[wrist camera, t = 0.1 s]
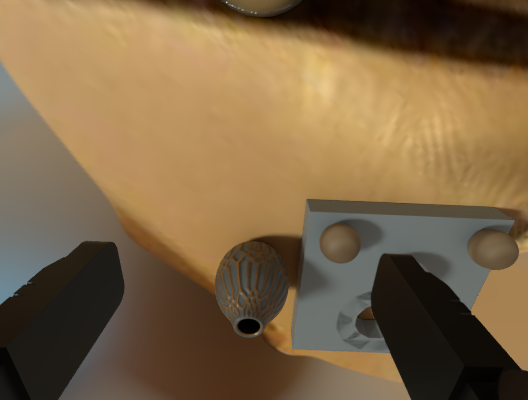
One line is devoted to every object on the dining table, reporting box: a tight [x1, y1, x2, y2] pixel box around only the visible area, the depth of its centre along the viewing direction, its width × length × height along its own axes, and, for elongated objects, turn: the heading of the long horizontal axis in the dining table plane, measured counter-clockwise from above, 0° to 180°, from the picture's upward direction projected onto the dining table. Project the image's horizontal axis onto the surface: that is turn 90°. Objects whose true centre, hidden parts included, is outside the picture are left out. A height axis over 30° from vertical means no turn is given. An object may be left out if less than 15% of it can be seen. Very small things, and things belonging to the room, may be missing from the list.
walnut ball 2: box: [467, 229, 519, 270], centre depth 24 cm, size 3×3×3 cm
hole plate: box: [291, 199, 515, 353], centre depth 29 cm, size 18×18×2 cm
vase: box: [215, 241, 289, 337], centre depth 26 cm, size 7×7×9 cm
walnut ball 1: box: [319, 223, 361, 264], centre depth 24 cm, size 3×3×3 cm
